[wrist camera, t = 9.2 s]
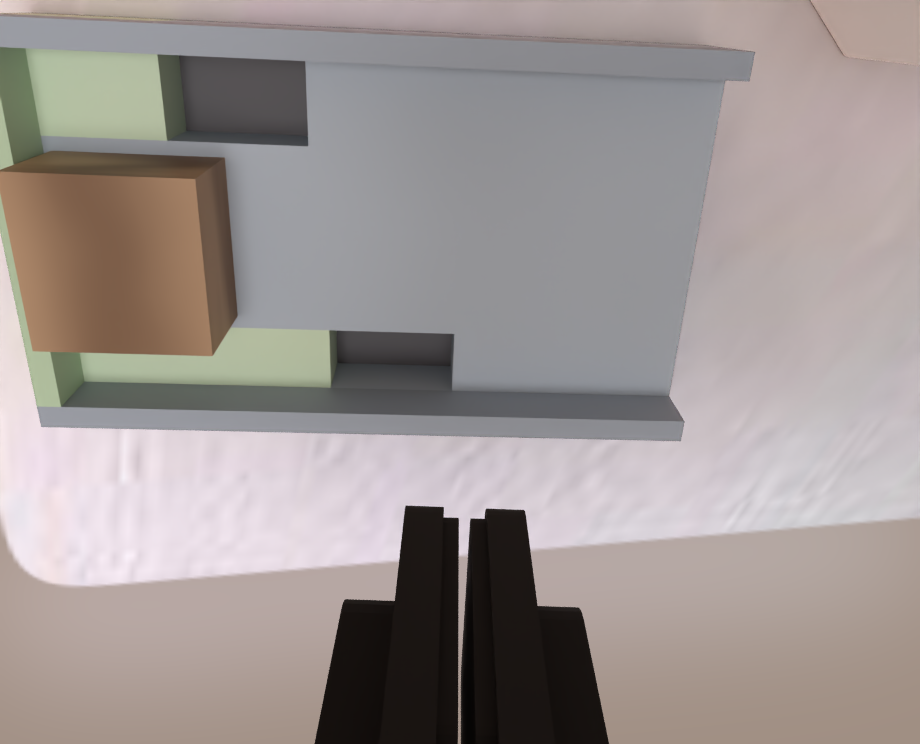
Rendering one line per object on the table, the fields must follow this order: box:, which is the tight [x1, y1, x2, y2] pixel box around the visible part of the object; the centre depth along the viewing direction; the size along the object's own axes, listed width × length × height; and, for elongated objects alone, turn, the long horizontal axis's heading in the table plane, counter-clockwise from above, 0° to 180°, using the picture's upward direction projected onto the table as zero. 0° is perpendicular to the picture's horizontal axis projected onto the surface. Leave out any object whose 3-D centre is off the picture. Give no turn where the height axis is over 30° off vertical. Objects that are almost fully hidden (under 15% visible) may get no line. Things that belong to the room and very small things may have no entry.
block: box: [0, 151, 238, 356], centre depth 25 cm, size 6×6×4 cm
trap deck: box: [0, 13, 755, 441], centre depth 27 cm, size 22×13×4 cm, turn 87°
